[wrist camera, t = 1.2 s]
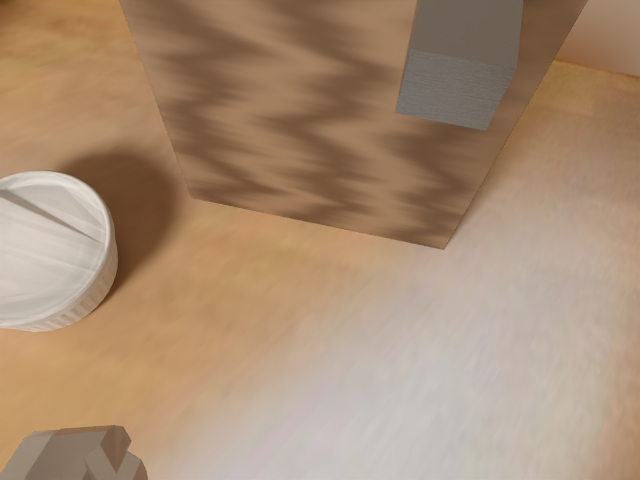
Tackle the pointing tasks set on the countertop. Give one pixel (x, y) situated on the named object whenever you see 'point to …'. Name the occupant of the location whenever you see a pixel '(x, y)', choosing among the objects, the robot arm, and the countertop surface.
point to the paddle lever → (460, 60)
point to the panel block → (324, 109)
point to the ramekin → (53, 250)
